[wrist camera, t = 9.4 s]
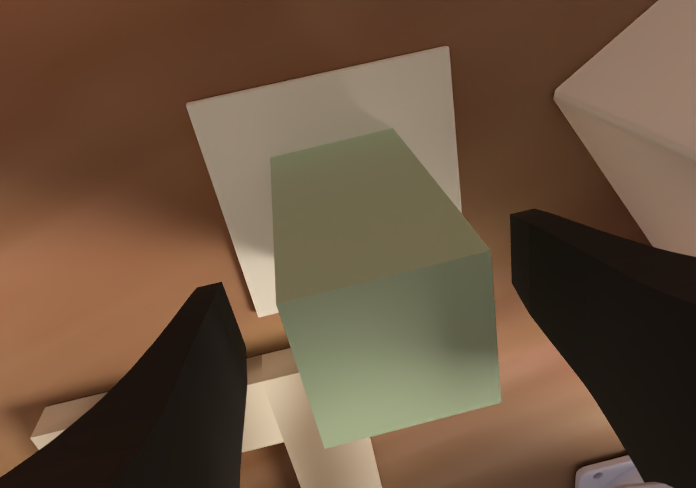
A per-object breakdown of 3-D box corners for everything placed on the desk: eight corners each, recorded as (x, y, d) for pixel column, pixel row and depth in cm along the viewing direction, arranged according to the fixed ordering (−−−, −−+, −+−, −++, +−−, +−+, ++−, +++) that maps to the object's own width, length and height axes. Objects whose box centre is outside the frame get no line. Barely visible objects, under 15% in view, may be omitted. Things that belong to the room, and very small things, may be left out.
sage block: (393, 128, 16) (490, 250, 9) (409, 235, 18) (501, 402, 11) (270, 157, 16) (275, 304, 9) (300, 262, 18) (324, 448, 11)
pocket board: (345, 334, 20) (351, 360, 19) (388, 512, 26) (394, 540, 25) (45, 406, 20) (29, 437, 18) (157, 570, 26) (152, 603, 24)
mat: (445, 45, 15) (448, 47, 15) (463, 264, 19) (466, 268, 19) (187, 102, 15) (185, 105, 15) (258, 312, 19) (258, 317, 19)
